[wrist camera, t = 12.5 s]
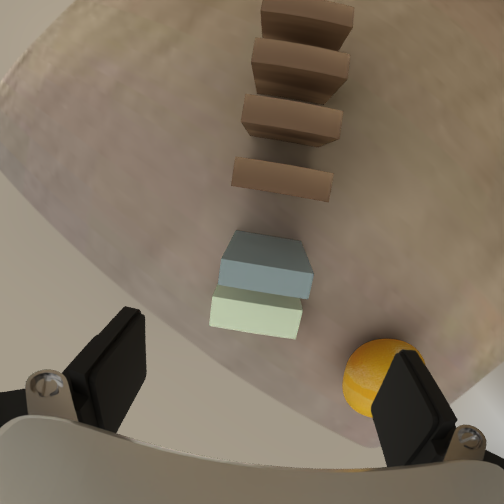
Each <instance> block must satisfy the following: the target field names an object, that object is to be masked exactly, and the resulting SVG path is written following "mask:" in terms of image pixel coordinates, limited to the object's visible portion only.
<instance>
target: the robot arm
mask: <svg viewBox="0 0 504 504" xmlns="http://www.w3.org/2000/svg"><path fill="white" fill-rule="evenodd" d="M145 377H146V345H145V316H144V315H143V314H141V311H140V310H139V309H135V308H130V307H126V306H125V307H123V309H122V310H121V311H120V312H119V313H118V314H117V315H116V316H115V317H114V318H113V319H112V320H111V321H110V323H109V324H108V325H107V326H106V327H105V328H104V329H103V330H102V331H101V332H100V333H99V335H96V336H95V337H94V338H93V339H92V340H91V341H90V342H89V343H88V344H87V345H86V346H85V347H84V349H83V350H82V351H81V352H80V353H79V354H78V355H77V356H76V358H75V359H74V360H73V361H72V362H71V363H70V364H69V365H68V367H67V368H66V369H65V370H64V371H63V372H62V373H60V372H58V371H55V370H50V369H45V370H40V371H37V372H35V373H33V374H32V375H30V376H29V377H28V379H27V381H26V385H25V389H20V390H14V391H7V392H0V504H504V459H503V458H501V457H499V456H497V455H495V454H493V453H491V452H489V451H487V450H485V449H486V439H485V436H484V435H483V433H482V432H481V431H480V430H479V429H477V428H476V427H474V426H471V425H461V426H459V427H457V428H456V426H455V423H456V421H457V418H456V416H455V414H454V413H453V411H452V409H451V408H450V406H449V404H448V402H447V400H446V399H445V397H444V395H443V394H442V392H441V390H440V389H439V387H438V385H437V384H436V382H435V380H434V379H433V377H432V375H431V374H430V372H429V370H428V369H427V367H426V366H425V364H424V362H423V361H422V359H421V358H420V356H419V355H418V353H417V352H416V351H415V350H404V349H402V350H401V351H400V352H399V353H396V354H395V356H394V358H393V360H392V363H391V365H390V367H389V369H388V371H387V374H386V376H385V378H384V380H383V382H382V384H381V386H380V389H379V391H378V393H377V395H376V397H375V399H374V401H373V403H372V405H371V414H372V417H373V420H374V424H375V427H376V430H377V433H378V437H379V440H380V443H381V447H382V450H383V454H384V457H385V461H386V464H387V467H382V468H365V469H364V468H363V469H313V468H292V467H280V466H269V465H260V464H251V463H244V462H237V461H230V460H223V459H218V458H212V457H207V456H202V455H197V454H192V453H187V452H183V451H179V450H174V449H170V448H166V447H162V446H158V445H155V444H151V443H147V442H143V441H140V440H136V439H133V438H130V437H126V436H123V435H120V434H116V433H117V431H118V428H119V427H120V425H121V423H122V421H123V419H124V418H125V416H126V414H127V412H128V410H129V408H130V406H131V404H132V403H133V401H134V399H135V397H136V395H137V393H138V391H139V390H140V388H141V386H142V384H143V382H144V380H145Z"/></svg>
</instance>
